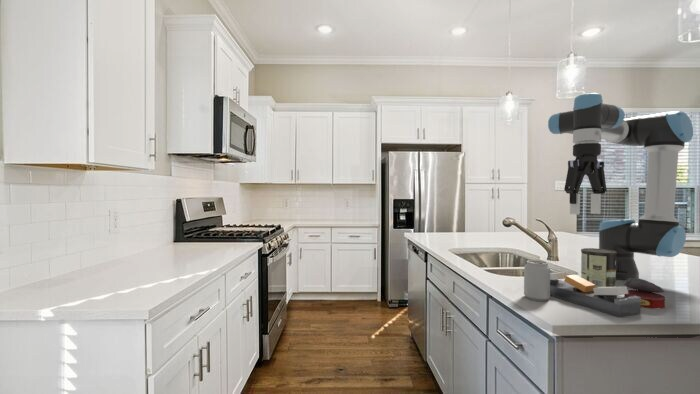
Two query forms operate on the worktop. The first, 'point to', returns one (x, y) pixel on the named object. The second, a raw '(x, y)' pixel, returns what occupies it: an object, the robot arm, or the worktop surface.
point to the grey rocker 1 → (557, 275)
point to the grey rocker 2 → (610, 290)
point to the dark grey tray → (596, 299)
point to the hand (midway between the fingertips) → (585, 214)
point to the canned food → (645, 292)
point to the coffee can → (599, 266)
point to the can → (537, 280)
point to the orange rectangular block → (579, 283)
